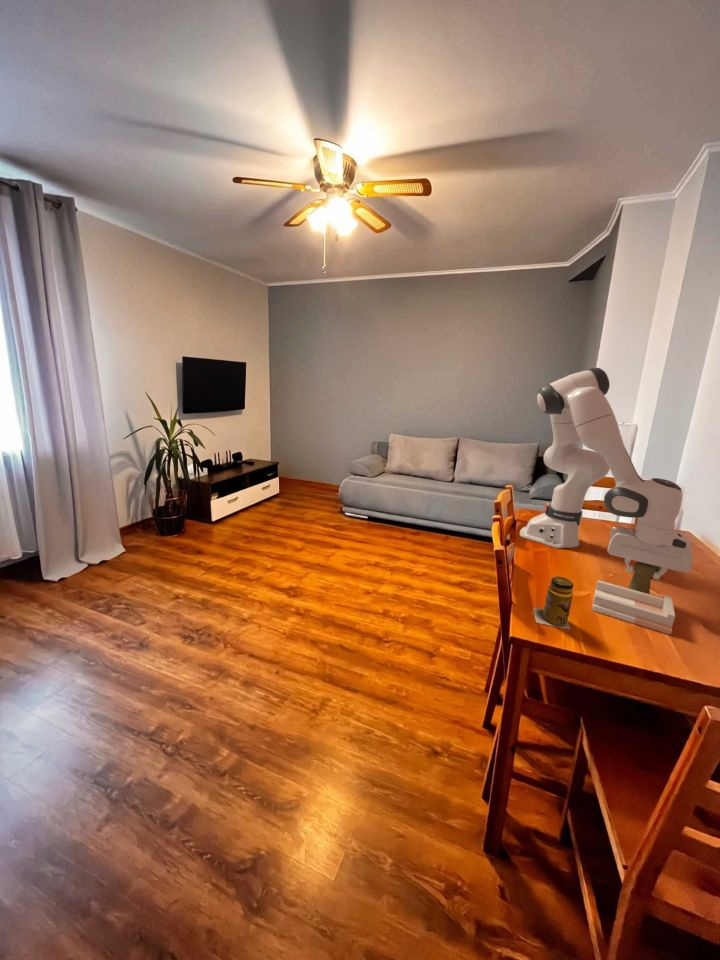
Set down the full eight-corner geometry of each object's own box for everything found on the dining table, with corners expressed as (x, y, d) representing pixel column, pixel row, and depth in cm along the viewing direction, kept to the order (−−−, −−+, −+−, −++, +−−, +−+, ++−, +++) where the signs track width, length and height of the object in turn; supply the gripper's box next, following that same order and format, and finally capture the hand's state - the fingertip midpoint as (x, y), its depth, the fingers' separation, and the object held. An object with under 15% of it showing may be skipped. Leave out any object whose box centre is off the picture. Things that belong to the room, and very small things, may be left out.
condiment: (570, 630, 100) (579, 589, 97) (536, 623, 103) (543, 583, 100) (565, 614, 107) (573, 576, 104) (532, 608, 110) (539, 570, 106)
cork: (653, 602, 115) (662, 569, 112) (631, 599, 116) (639, 567, 113) (643, 592, 121) (651, 560, 118) (622, 589, 122) (629, 558, 119)
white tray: (592, 610, 110) (595, 594, 108) (595, 589, 121) (598, 575, 120) (670, 635, 100) (675, 618, 99) (666, 610, 111) (670, 595, 110)
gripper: (611, 527, 116) (602, 568, 119) (699, 546, 105) (685, 590, 108) (612, 522, 121) (603, 561, 125) (695, 539, 110) (683, 581, 113)
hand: (642, 575), depth 116 cm, fingers open, 5 cm apart
